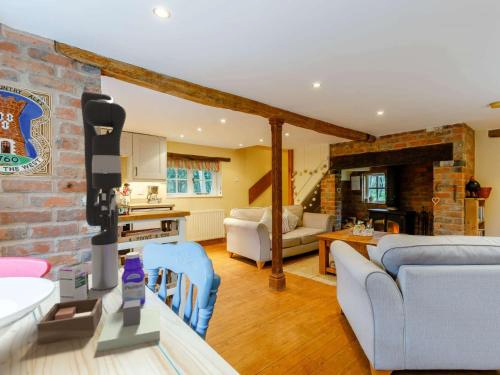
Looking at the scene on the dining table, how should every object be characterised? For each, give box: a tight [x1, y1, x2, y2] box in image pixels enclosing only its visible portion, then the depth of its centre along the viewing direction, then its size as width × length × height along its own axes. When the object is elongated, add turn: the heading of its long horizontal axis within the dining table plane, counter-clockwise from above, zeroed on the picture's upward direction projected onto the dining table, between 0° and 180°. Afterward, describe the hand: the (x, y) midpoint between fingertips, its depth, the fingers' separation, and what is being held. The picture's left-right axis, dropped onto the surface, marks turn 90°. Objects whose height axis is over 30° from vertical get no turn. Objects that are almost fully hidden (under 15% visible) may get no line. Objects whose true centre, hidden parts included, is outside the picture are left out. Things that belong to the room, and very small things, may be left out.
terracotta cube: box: [55, 307, 76, 320], centre depth 74 cm, size 4×4×4 cm
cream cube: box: [74, 312, 92, 317], centre depth 71 cm, size 4×4×4 cm
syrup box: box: [58, 261, 90, 303], centre depth 85 cm, size 6×6×14 cm
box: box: [37, 296, 103, 346], centre depth 72 cm, size 12×12×6 cm
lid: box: [97, 300, 161, 352], centre depth 71 cm, size 14×14×8 cm
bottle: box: [120, 251, 146, 307], centre depth 87 cm, size 7×6×17 cm
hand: (108, 226), depth 77 cm, fingers open, 8 cm apart
